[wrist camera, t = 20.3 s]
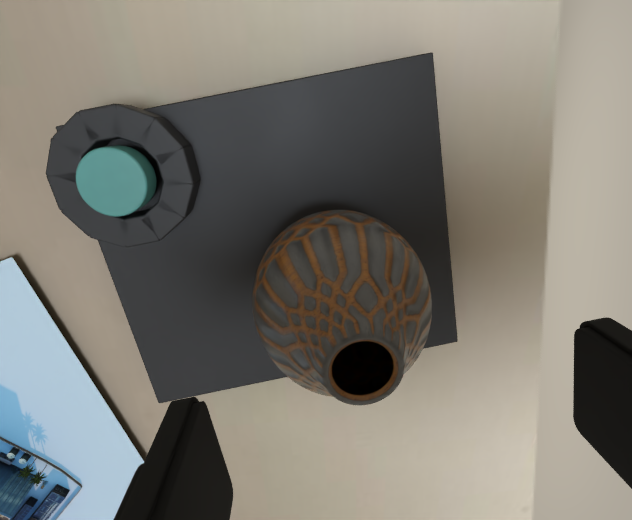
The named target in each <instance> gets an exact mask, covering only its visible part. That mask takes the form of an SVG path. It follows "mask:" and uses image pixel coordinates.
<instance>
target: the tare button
mask: <svg viewBox="0 0 632 520" xmlns="http://www.w3.org/2000/svg"><path fill="white" fill-rule="evenodd" d="M76 184H77V188H78V191H79V193H80V195H81V197H82V198H83V200H84V201H85V202H86V203H87V204H88V205H89V206H90V207H91V208H93V209H94V210H96V211H97V212H99V213H102V214H104V215H108V216H114V217H119V216H125V215H129V214H131V213H133V212H135V211H136V210H138V209H140V208H141V207H143V206H144V205H146V204H147V203H148V202H149V201H150V200H151V199H152V197H153V195H154V193H155V190H156V174H155V171H154V168H153V166H152V165H151V163H150V162H149V160H148V159H147V158H146V157H145V156H144V155H143V154H142V153H140V152H139V151H137V150H135V149H133V148H131V147H127V146H121V145H116V146H108V147H101V148H97V149H94V150H92V151H90V152H88V153H87V154H86V155H85V156H84V157H83V158H82V159H81V161H80V162H79V164H78V167H77V170H76Z"/></svg>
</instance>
